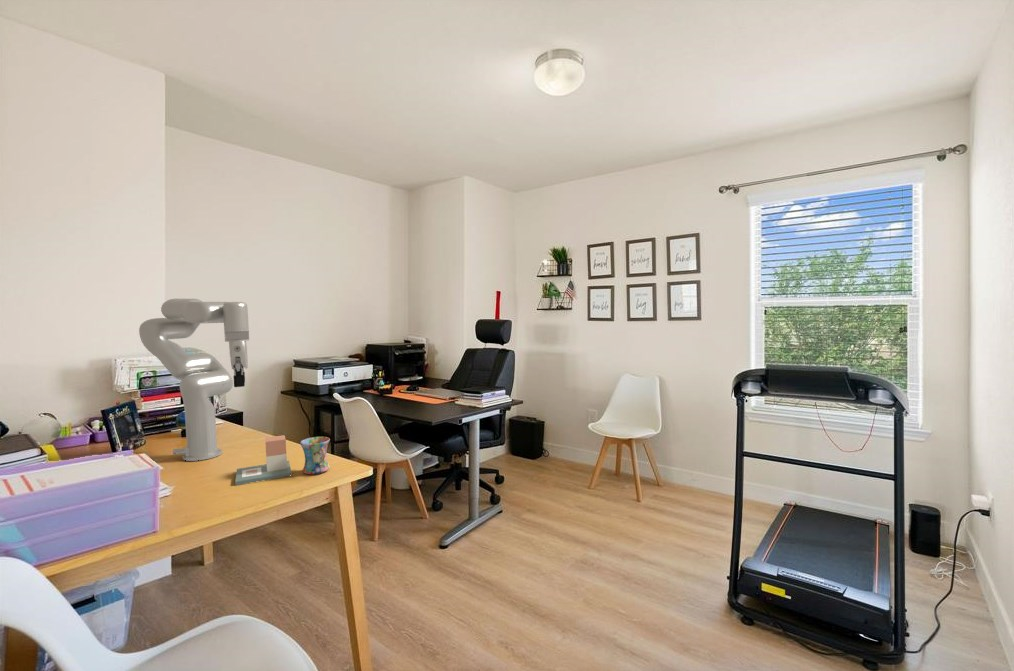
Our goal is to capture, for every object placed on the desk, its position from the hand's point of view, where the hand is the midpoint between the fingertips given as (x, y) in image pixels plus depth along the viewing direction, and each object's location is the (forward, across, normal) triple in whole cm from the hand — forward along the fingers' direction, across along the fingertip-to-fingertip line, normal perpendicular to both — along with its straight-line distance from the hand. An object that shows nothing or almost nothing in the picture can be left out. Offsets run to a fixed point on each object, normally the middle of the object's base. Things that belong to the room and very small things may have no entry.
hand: (239, 384), depth 168 cm
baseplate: (+28, -17, -6) cm, 34 cm away
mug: (+28, -25, -22) cm, 44 cm away
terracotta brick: (+22, -16, -10) cm, 29 cm away
